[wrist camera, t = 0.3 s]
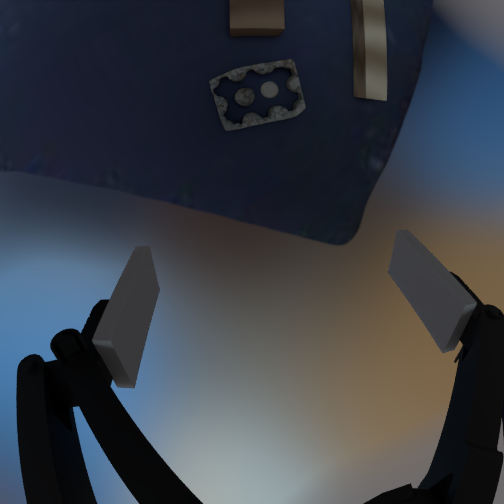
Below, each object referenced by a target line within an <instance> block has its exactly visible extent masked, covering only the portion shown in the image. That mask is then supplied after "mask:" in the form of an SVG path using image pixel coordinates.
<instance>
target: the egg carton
mask: <svg viewBox="0 0 504 504" xmlns="http://www.w3.org/2000/svg"><path fill="white" fill-rule="evenodd" d="M278 67H283V68H287V69H290V70H291V73H292V76H291V77H289V78H288V79H287V81H286V86H287V88H288V89H289V90H290V91H291V92H297V93H298V98H299V99H298V100H297V101H296V102H295V103H294V104H293V110H292V111H288V110H287V109H286V108H284V107H282V106H273V107H271V108H270V109H269V111H268V117H265V118H262V117H260V116H259V115H258V114H256V113H253V112H251V113H247V114H246V115H244V117H243V120H242V124H239V123H235V124H234V123H233V122H232V121H230V120H226V118H225V117H224V116H223V114H224V113H225V112H226V110H227V107H228V102H227V100H226V99H225V98H224V97H221V96H217V95H216V94H215V93H214V89H215V88H216V87H217V86H218V85H219V83H220V79H221V78H223V77H228V78H229V79H230V80H232V81H234V82H237V81H241V80H243V79H244V78H245V76H246V72H247V71H249V70H252V69H253V70H254V71H255V72H256V73H258V74H262V75H263V74H267V73H271V72H272V71H273V69H274V68H278ZM209 83H210V88H211V91H212V94H213V95H214V100H215V103H216V105H217V109H218V112H219V115H220V119H221V122H222V124H223V126H224V128H225V130H226V131H230V130H236V129H241V128H245V127H250V126H254V125H260V124H264V123H268V122H273V121H278V120H284V119H288V118H292V117H295V116H297V115H299V114H300V113H301V112H302V111H303V110H304V109H305V102H304V98H303V94H302V90H301V86H300V81H299V77H298V75H297V71H296V67H295V63H294V60H293V59H288V60H281V61H274V62H268V63H262V64H256V65H251V66H245V67H241V68H237V69H234V70H232V71H229V72H227V73H225V74H223V75H221V76H218V77H216V78H214V79H212V80H210V81H209ZM278 91H279V89H278V86H277V85H276V84H275V83H273V82H265V83H264V84H263V85H262V87H261V93H262V95H263V96H264V97H267V98H273V97H275V96H276V95H277V94H278ZM234 98H235V100H236V102H237V103H238V104H239V105H241V106H248V105H250V104H251V103H252V102H253V101H254V99H255V95H254V92H253V90H252V89H251V88H241V89H239V90H238V91H237V92H236V94H235V97H234Z"/></svg>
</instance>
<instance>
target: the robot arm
mask: <svg viewBox="0 0 504 504" xmlns="http://www.w3.org/2000/svg"><path fill="white" fill-rule="evenodd" d="M388 273H389V275H390V276H391V277H392V278H393V280H394V282H395V283H396V284H397V286H398V287H399V288H400V290H401V291H402V292H403V294H404V295H405V297H406V298H407V300H408V301H409V303H410V304H411V306H412V307H413V309H414V310H415V312H416V313H417V315H418V316H419V317H420V319H421V320H422V322H423V323H424V325H425V326H426V328H427V330H428V331H429V333H430V334H431V336H432V337H433V339H434V340H435V342H436V344H437V345H438V347H439V348H440V350H441V352H442V353H445V352H448V351H452V350H455V348H456V346H457V344H458V342H459V340H460V341H461V342H462V344H463V346H462V348H461V350H460V352H459V353H458V356H457V357H456V359H455V361H454V362H455V363H456V362H457V360H458V359H459V362H458V367H457V372H456V377H455V382H454V387H453V391H452V396H451V400H450V404H449V408H448V412H447V416H446V420H445V423H444V427H443V430H442V433H441V437H440V440H439V443H438V446H437V449H436V452H435V455H434V458H433V460H432V463H431V466H430V469H429V471H428V473H427V475H426V476H425V478H424V479H423V480H422V482H421V483H420V485H419V486H418V488H412V486H411V484H407V485H405V486H402V487H399V488H396V489H393V490H390V491H387V492H384V493H382V494H380V495H378V496H376V497H375V498H373V499H371V500H369V501H367V502H366V503H364V504H493V500H494V497H495V493H496V490H497V486H498V482H499V478H500V473H501V468H502V464H503V453H502V452H499V451H498V450H497V445H498V439H499V433H500V426H501V418H502V422H503V436H504V315H503V313H502V312H501V310H499V309H498V308H497V307H495V306H493V305H489V304H487V305H484V304H483V303H482V302H481V301H480V300H479V298H478V297H477V296H476V295H475V294H474V293H473V292H472V291H471V289H469V287H468V286H467V285H466V284H465V283H464V282H463V281H462V280H461V279H460V277H458V276H457V275H455V274H454V273H452V272H449V271H448V270H447V269H446V268H445V267H444V266H443V265H442V264H441V262H440V261H439V260H438V259H437V258H436V257H435V256H434V255H433V254H432V253H431V252H430V251H429V250H428V249H427V248H426V247H425V246H424V245H423V244H422V243H420V241H419V240H418V239H417V238H416V237H414V235H413V234H411V233H410V232H409V231H408V230H398V231H396V237H395V242H394V247H393V252H392V257H391V261H390V266H389V270H388ZM159 291H160V288H159V284H158V281H157V277H156V272H155V268H154V263H153V259H152V255H151V250H150V246H141V247H135V249H134V251H133V253H132V255H131V257H130V259H129V261H128V263H127V265H126V267H125V269H124V271H123V273H122V275H121V277H120V279H119V281H118V283H117V285H116V287H115V289H114V292H113V294H112V296H111V298H110V300H100V301H99V302H98V303H97V304H96V305H95V306H94V307H93V309H92V311H91V313H90V317H88V319H87V321H86V324H85V326H84V328H83V330H82V332H81V333H80V332H79V331H78V330H76V329H65V330H62V331H60V332H59V333H57V334H56V335H55V336H54V337H53V339H52V341H51V343H50V347H51V350H52V352H53V353H54V355H55V357H56V358H57V360H53V361H49V362H44V360H43V359H42V357H41V356H40V355H36V354H32V355H29V356H27V357H25V358H24V359H23V360H22V361H21V362H20V364H19V365H18V369H17V396H16V400H17V432H18V446H19V455H20V464H21V472H22V479H23V485H24V490H25V496H26V501H27V504H97V502H96V499H95V496H94V493H93V490H92V486H91V483H90V480H89V477H88V473H87V469H86V466H85V462H84V458H83V454H82V451H81V446H80V442H79V437H78V433H77V428H76V423H75V417H74V412H73V407H76V406H79V407H80V409H81V411H82V413H83V415H84V417H85V419H86V421H87V423H88V425H89V427H90V428H91V430H92V432H93V434H94V435H95V437H96V439H97V441H98V443H99V444H100V446H101V448H102V449H103V451H104V453H105V454H106V456H107V458H108V459H109V461H110V462H111V464H112V466H113V467H114V469H115V470H116V472H117V473H118V475H119V476H120V477H121V479H122V481H123V482H124V483H125V485H126V486H127V488H128V489H129V490H130V492H131V493H132V495H133V496H134V497H135V499H136V500H137V501H138V503H139V504H203V503H202V502H201V501H200V500H199V499H198V498H197V497H196V496H195V495H194V494H193V493H192V492H191V491H190V490H189V489H188V487H187V486H186V485H185V484H184V483H183V482H182V481H181V480H180V479H179V478H178V476H177V475H176V474H175V473H174V472H173V471H172V470H171V469H170V467H169V466H168V465H167V464H166V463H165V461H164V460H163V459H162V458H161V456H160V455H159V454H158V453H157V452H156V450H155V449H154V448H153V447H152V445H151V444H150V443H149V441H148V440H147V439H146V438H145V436H144V435H143V434H142V432H141V431H140V429H139V428H138V427H137V425H136V424H135V422H134V421H133V420H132V418H131V417H130V415H129V414H128V413H127V411H126V410H125V408H124V407H123V405H122V404H121V402H120V401H119V400H118V398H117V396H116V395H115V393H114V391H113V390H112V388H111V387H110V386H111V383H112V379H113V380H114V382H115V384H116V386H117V387H122V388H135V384H136V380H137V375H138V371H139V367H140V362H141V358H142V354H143V350H144V346H145V342H146V338H147V334H148V330H149V326H150V323H151V319H152V316H153V312H154V308H155V305H156V301H157V298H158V294H159Z"/></svg>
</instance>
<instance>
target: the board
mask: <svg viewBox="0 0 504 504" xmlns="http://www.w3.org/2000/svg"><path fill="white" fill-rule="evenodd" d="M350 1H351V15H352V32H353V61H354V97H358V98H368V99H376V100H385V101H387V49H386V28H385V14H384V2H383V0H350Z"/></svg>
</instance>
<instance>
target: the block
mask: <svg viewBox="0 0 504 504" xmlns="http://www.w3.org/2000/svg"><path fill="white" fill-rule="evenodd" d="M284 29H285V27H284V0H230V36H279V35H280V34H281V33H282V31H283V30H284Z"/></svg>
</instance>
